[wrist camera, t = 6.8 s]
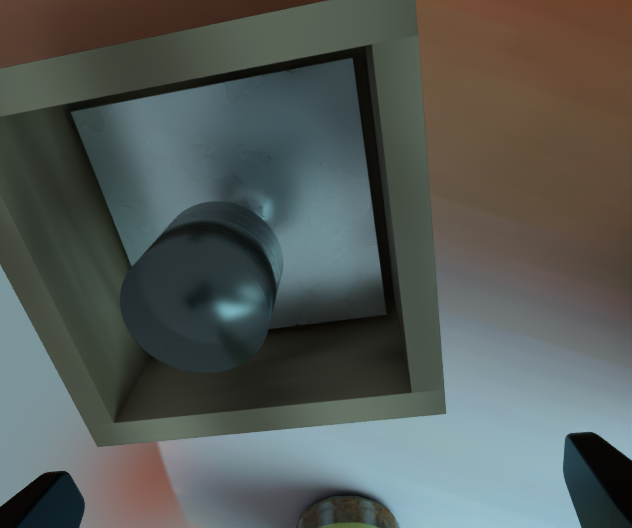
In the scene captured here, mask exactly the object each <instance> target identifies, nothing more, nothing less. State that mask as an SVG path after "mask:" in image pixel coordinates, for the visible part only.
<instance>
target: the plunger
mask: <svg viewBox="0 0 632 528" xmlns="http://www.w3.org/2000/svg"><path fill="white" fill-rule="evenodd" d="M71 114H72V117H73V119H74V122H75V124H76V127H77V129H78V132H79V134H80V137H81V139H82V142H83V144H84V147H85V149H86V152H87V155H88V157H89V160H90V162H91V165H92V167H93V170H94V172H95V175H96V177H97V180H98V182H99V185H100V187H101V190H102V193H103V195H104V198H105V200H106V203H107V205H108V208H109V210H110V213H111V215H112V218H113V220H114V223H115V225H116V228H117V231H118V233H119V236H120V238H121V241H122V243H123V246H124V248H125V251H126V253H127V256H128V258H129V261H130V263H131V266H132V267H131V269H130V270H129V272H128V273H127V274H126V277H125V279H124V281H123V283H122V287H121V291H120V308H121V313H122V317H123V320H124V323H125V325H126V327H127V329H128V331H129V332H130V334H131V335H132V337H133V338H134V339H135V340H136V342H137V343H138V344H139V345H140V346H141V347H142V348H143V349H144V350H145V351H146V352H148V353H149V354H150V355H152V356H153V357H154V358H156V359H158V360H159V361H161V362H163V363H165V364H167V365H169V366H172V367H174V368H177V369H180V370H184V371H188V372H195V373H216V372H222V371H226V370H230V369H233V368H235V367H237V366H240V365H241V364H243V363H245V362H246V361H248V360H249V359H250V358H251V357H253V356H254V355H255V354H256V352H257V351H258V350H259V349H260V347H261V346H262V344H263V342H264V340H265V338H266V336H267V332H268V329H273V328H281V327H290V326H298V325H306V324H314V323H322V322H330V321H338V320H347V319H355V318H363V317H371V316H379V315H387V314H386V307H385V299H384V291H383V284H382V276H381V269H380V261H379V254H378V246H377V239H376V231H375V224H374V216H373V208H372V201H371V193H370V186H369V178H368V171H367V163H366V156H365V148H364V141H363V133H362V125H361V118H360V110H359V103H358V95H357V88H356V80H355V73H354V65H353V58H352V57H347V58H342V59H337V60H331V61H326V62H321V63H316V64H311V65H305V66H300V67H295V68H290V69H285V70H279V71H274V72H269V73H264V74H259V75H253V76H248V77H243V78H238V79H233V80H227V81H222V82H217V83H212V84H207V85H201V86H196V87H191V88H186V89H181V90H175V91H170V92H165V93H160V94H154V95H149V96H144V97H139V98H134V99H128V100H123V101H118V102H113V103H108V104H102V105H97V106H92V107H87V108H82V109H79V110H75V111H72V112H71Z"/></svg>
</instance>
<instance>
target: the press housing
mask: <svg viewBox="0 0 632 528" xmlns="http://www.w3.org/2000/svg"><path fill="white" fill-rule="evenodd" d="M347 57H352V58H353V65H354V73H355V80H356V88H357V95H358V103H359V110H360V118H361V125H362V133H363V141H364V148H365V156H366V163H367V171H368V178H369V186H370V193H371V201H372V208H373V216H374V224H375V231H376V239H377V246H378V254H379V261H380V269H381V276H382V284H383V291H384V299H385V307H386V314H387V315H379V316H371V317H363V318H355V319H347V320H338V321H330V322H322V323H314V324H306V325H298V326H290V327H281V328H273V329H268V332H267V336H266V338H265V340H264V342H263V344H262V346H261V347H260V349H259V350H258V351H257V352H256V354H255V355H254V356H253V357H251V358H250V359H249V360H248V361H246V362H245V363H243V364H241V365H240V366H237V367H235V368H233V369H230V370H226V371H222V372H216V373H195V372H188V371H184V370H180V369H177V368H174V367H172V366H169V365H167V364H165V363H163V362H161V361H159V360H158V359H156V358H154V357H153V356H152V355H150V354H149V353H148V352H146V351H145V350H144V349H143V348H142V347H141V346H140V345H139V344H138V343H137V342H136V340H135V339H134V338H133V337H132V335H131V334H130V332H129V331H128V329H127V327H126V325H125V323H124V320H123V317H122V313H121V308H120V291H121V287H122V283H123V281H124V279H125V277H126V274H127V273H128V272H129V270H130V269H131V267H132V266H131V263H130V261H129V258H128V256H127V253H126V251H125V248H124V246H123V243H122V241H121V238H120V236H119V233H118V231H117V228H116V225H115V223H114V220H113V218H112V215H111V213H110V210H109V208H108V205H107V203H106V200H105V198H104V195H103V193H102V190H101V187H100V185H99V182H98V180H97V177H96V175H95V172H94V170H93V167H92V165H91V162H90V160H89V157H88V155H87V152H86V149H85V147H84V144H83V142H82V139H81V137H80V134H79V132H78V129H77V127H76V124H75V122H74V119H73V117H72V114H71V112H72V111H75V110H79V109H82V108H87V107H92V106H97V105H102V104H108V103H113V102H118V101H123V100H128V99H134V98H139V97H144V96H149V95H154V94H160V93H165V92H170V91H175V90H181V89H186V88H191V87H196V86H201V85H207V84H212V83H217V82H222V81H227V80H233V79H238V78H243V77H248V76H253V75H259V74H264V73H269V72H274V71H279V70H285V69H290V68H295V67H300V66H305V65H311V64H316V63H321V62H326V61H331V60H337V59H342V58H347ZM0 264H1V266H2V268H3V270H4V272H5V274H6V276H7V278H8V279H9V281H10V283H11V285H12V287H13V289H14V291H15V293H16V294H17V296H18V298H19V300H20V302H21V304H22V306H23V307H24V309H25V311H26V313H27V315H28V317H29V319H30V321H31V323H32V324H33V326H34V328H35V330H36V332H37V334H38V336H39V338H40V340H41V341H42V343H43V345H44V347H45V349H46V351H47V353H48V355H49V356H50V358H51V360H52V362H53V364H54V366H55V368H56V370H57V371H58V373H59V375H60V377H61V379H62V381H63V383H64V384H65V387H66V388H67V390H68V392H69V394H70V396H71V398H72V400H73V402H74V403H75V405H76V407H77V409H78V411H79V413H80V415H81V417H82V418H83V420H84V422H85V424H86V426H87V428H88V430H89V432H90V434H91V435H92V437H93V439H94V441H95V443H96V445H97V446H98V447H102V446H113V445H123V444H134V443H144V442H155V441H165V440H176V439H186V438H197V437H207V436H218V435H228V434H239V433H249V432H260V431H270V430H281V429H291V428H302V427H312V426H323V425H333V424H344V423H354V422H365V421H375V420H386V419H396V418H407V417H417V416H428V415H438V414H446V405H445V392H444V378H443V365H442V351H441V338H440V324H439V311H438V298H437V284H436V271H435V257H434V244H433V230H432V217H431V204H430V190H429V177H428V163H427V150H426V136H425V123H424V110H423V96H422V83H421V69H420V56H419V42H418V29H417V16H416V2H415V0H327V1H322V2H317V3H313V4H308V5H303V6H298V7H293V8H289V9H284V10H279V11H274V12H269V13H265V14H260V15H255V16H250V17H245V18H241V19H236V20H231V21H226V22H221V23H217V24H212V25H207V26H202V27H197V28H193V29H188V30H183V31H178V32H174V33H169V34H164V35H159V36H154V37H150V38H145V39H140V40H135V41H130V42H126V43H121V44H116V45H111V46H106V47H102V48H97V49H92V50H87V51H82V52H78V53H73V54H68V55H63V56H58V57H54V58H49V59H44V60H39V61H34V62H30V63H25V64H20V65H15V66H10V67H6V68H1V69H0Z"/></svg>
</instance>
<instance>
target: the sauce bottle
mask: <svg viewBox="0 0 632 528" xmlns="http://www.w3.org/2000/svg"><path fill="white" fill-rule="evenodd" d="M296 528H399V524H398V522H397V521H396V519H395V517H394V516H393V515H392V513H391V512H390V510H389V509H387V508H386V507H385V506H383V505H381V504H380V503H377V502H376V501H374V500H370V499H366V498H362V497H359V496H340V497H339V496H333V497H330V498H328V499H325V500H321V501H319V502H317V503H316V504H314V505H312V506H310V507H309V508H308V509H306V510H305V511H304V512H303V513H302V515H301V516H300V519H299V522H298V524H297V527H296Z"/></svg>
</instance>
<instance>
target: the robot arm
mask: <svg viewBox="0 0 632 528" xmlns="http://www.w3.org/2000/svg"><path fill="white" fill-rule="evenodd" d="M563 473H564V478H565V482H566V485H567V488H568V491H569V494H570V496H571V499H572V502H573V505H574V508H575V511H576V513H577V516H578V519H579V522H580V525H581V527H582V528H632V460H630V459H629V458H628V457H626V456H625V455H624V454H622V453H621V452H620V451H618V450H617V449H616V448H615V447H613V446H612V445H611V444H609V443H608V442H607V441H605V440H604V439H603V438H601V437H600V436H599V435H597V434H595V433H593V432H581V433H570V434H568V435H567V436H566V438H565V448H564V461H563ZM84 509H85V502H84V498H83V496H82V494H81V493H80V491H79V489H78V487H77V486H76V484H75V483H74V480H73V479H72V477H71V475H70V474H69V473H68V472H66V471H56V472H47V473H44V474H42V475H41V476H39V477H38V478H36V479H35V480H34V481H33V482H31V483H30V484H29V485H28V486H26V487H25V488H24V489H23V490H21V491H20V492H19V493H17V494H16V495H15V496H14V497H12V498H11V499H10V500H9V501H7V502H6V503H5V504H3V505H2V506H1V507H0V528H79V526H80V523H81V520H82V517H83V513H84Z"/></svg>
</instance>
